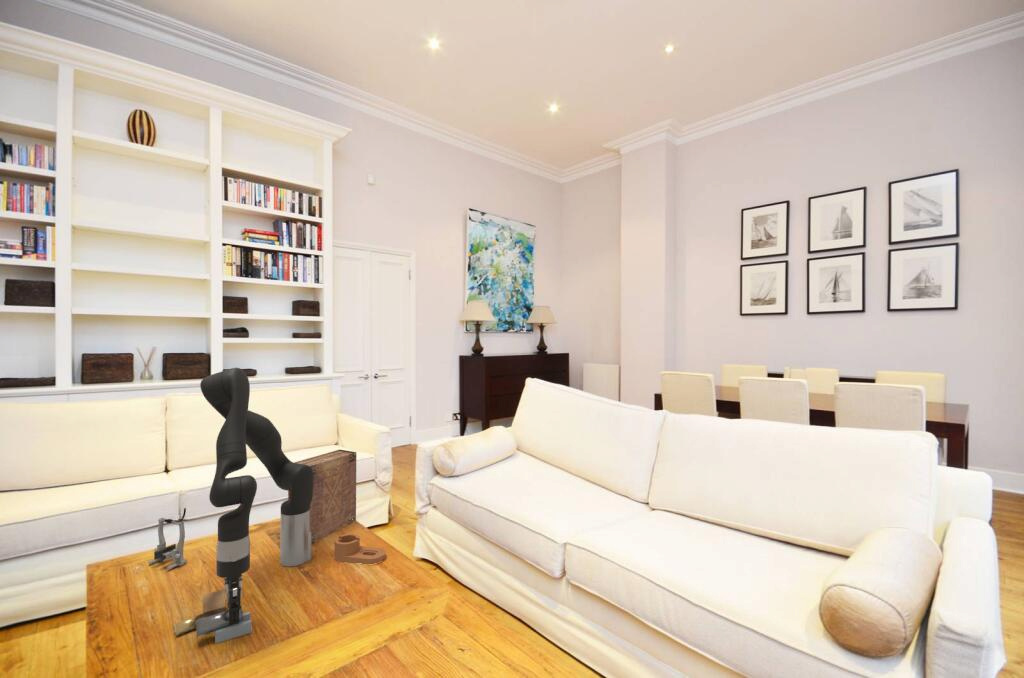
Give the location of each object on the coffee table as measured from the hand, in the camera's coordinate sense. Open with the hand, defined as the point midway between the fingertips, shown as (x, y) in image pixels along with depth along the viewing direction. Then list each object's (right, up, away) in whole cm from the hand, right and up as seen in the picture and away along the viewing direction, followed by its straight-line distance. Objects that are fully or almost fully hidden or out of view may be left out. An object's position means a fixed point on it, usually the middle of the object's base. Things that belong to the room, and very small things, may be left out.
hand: (233, 616), depth 121 cm
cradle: (0, -4, 0) cm, 4 cm away
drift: (-12, -4, 0) cm, 12 cm away
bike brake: (-42, -4, +34) cm, 55 cm away
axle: (-2, -2, -2) cm, 4 cm away
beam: (-8, -4, +5) cm, 11 cm away
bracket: (+20, -5, +40) cm, 45 cm away
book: (-1, -4, +60) cm, 60 cm away
